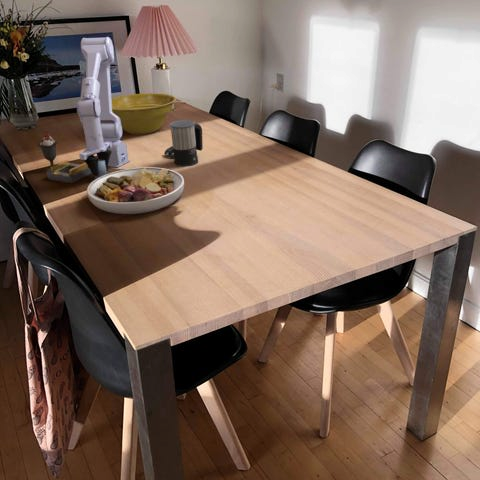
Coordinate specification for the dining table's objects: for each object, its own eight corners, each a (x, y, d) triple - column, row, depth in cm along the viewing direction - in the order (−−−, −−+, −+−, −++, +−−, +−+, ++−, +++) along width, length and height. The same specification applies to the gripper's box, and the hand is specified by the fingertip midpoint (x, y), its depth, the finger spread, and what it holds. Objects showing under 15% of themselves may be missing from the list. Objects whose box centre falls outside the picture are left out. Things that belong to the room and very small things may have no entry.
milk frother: (192, 167, 184) (188, 127, 177) (153, 164, 189) (148, 125, 182) (207, 155, 196) (204, 117, 189) (170, 152, 200) (166, 115, 194)
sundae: (57, 173, 184) (48, 132, 177) (40, 172, 185) (31, 132, 178) (66, 167, 190) (57, 127, 183) (49, 166, 191) (41, 127, 184)
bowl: (85, 189, 170) (80, 167, 166) (172, 175, 178) (170, 154, 175) (95, 226, 145) (90, 201, 141) (196, 207, 153) (194, 183, 150)
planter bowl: (117, 121, 245) (112, 93, 239) (183, 120, 243) (180, 91, 237) (98, 141, 217) (92, 110, 210) (172, 140, 215) (169, 108, 209)
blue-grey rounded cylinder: (110, 176, 179) (107, 159, 176) (102, 180, 176) (99, 164, 173) (100, 174, 181) (97, 158, 178) (92, 178, 177) (89, 162, 175)
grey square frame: (93, 172, 183) (91, 162, 181) (72, 183, 174) (69, 172, 173) (69, 168, 187) (67, 158, 186) (48, 179, 179) (45, 168, 177)
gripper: (88, 142, 164) (95, 181, 170) (116, 130, 175) (122, 167, 182) (71, 140, 167) (79, 179, 173) (100, 128, 178) (106, 165, 184)
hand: (100, 173), depth 178 cm, fingers closed on blue-grey rounded cylinder, 4 cm apart
